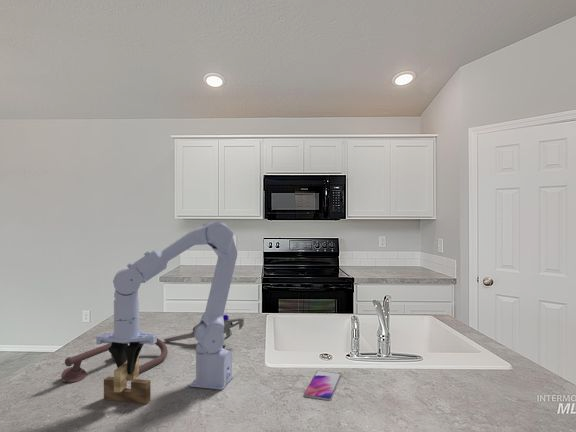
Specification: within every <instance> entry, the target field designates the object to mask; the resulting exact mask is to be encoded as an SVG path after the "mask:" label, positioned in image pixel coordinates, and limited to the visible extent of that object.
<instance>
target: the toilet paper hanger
mask: <svg viewBox="0 0 576 432" xmlns="http://www.w3.org/2000/svg"><path fill="white" fill-rule="evenodd" d="M154 345H156V346H157V347H158V348H159V349H160V352H161V353H160V354H159V356H157V357H155V358H154V359H152V360H149V361H148V362H145V363H143V364H141V365H139V375H140V374H142V373H143V372H145V371H147V370H150V369H152V368H153V367H154V368H155V366H158V365H159V364H161V363H163V362H164V361H165V359H166V358H167V356H168V354H169V353H168V347H167V345H166V343H165V342H164V341H162V340H161V339H160V338H159V337H157V342H156V343H155V344H154ZM109 347H111V343H105V344H104V345H100V346H98V347H95V348H92V349H90V350H87V351H85V352H82V353H79V354H77V355H74V356H71V357H69V356H68V357H67V358H65V359H64V364H65V366H66V367H67V368H66V369H64V370H63V371H62V372H61V379H62V381H63V382H66V383H69V384H73V383H77V382H81V381H82V380H85V378H86V377H87V371H86V370H85V369H84V368H82V367H81V366H82V365H81V364H82V362H83V361H84V360H88V359H90V358H92V357H95V356H97V355H100V354H102V353H105V352H109ZM110 355H111V354H110ZM110 357H111V358H112V359H113V360H114V358H113V356H112V355H111V356H110ZM126 361H127V357H126Z"/></svg>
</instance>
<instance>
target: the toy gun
mask: <svg viewBox="0 0 576 432" xmlns="http://www.w3.org/2000/svg"><path fill="white" fill-rule="evenodd" d="M223 319H224V331H223V332H224V334H225V335H226V336H224V338H225V340H227V339H228V338H231V336H232V335H233V332H232V330H231V328H234V327H236V326H238V330H241V329H242V328H243V327H244V325H245V317H236V318H231V319H230V318H229V315H228V314H223ZM198 324H199V323H197V324H196V325H194V326H193V328H192V331H190V332H186V333H181V334H177V335H172V336H168V337H165V338H163V342H164V341H165V342H167V343H169V342H177V341H181V340H186V339H192V338H195V336H194V331H195V328H196V326H197V325H198Z"/></svg>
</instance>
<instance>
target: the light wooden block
mask: <svg viewBox="0 0 576 432" xmlns="http://www.w3.org/2000/svg"><path fill="white" fill-rule="evenodd" d="M139 366H140V356H139V355H138V358H137V361H136V365H135V370H134V372H133V373H132V374H128V372H127V360H126V362H125V363H124V364H122V365H121V366H120V367H118V368H115V370H113V377H114V392H121V391H122V390H124V389H125V388H127V382H128V381H130V382H131V381H133V380H134V379H138V378H139V376H140V374H139Z"/></svg>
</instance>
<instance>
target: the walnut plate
mask: <svg viewBox="0 0 576 432" xmlns="http://www.w3.org/2000/svg"><path fill="white" fill-rule="evenodd" d="M151 398H152V397H151V380H149V379H140V378H136V379H134V380H133V381H130V387H128V388H127V387H126V388H125V389H124V390H122V391H121V392H114V376H107V377H106V378H103V400H106V401H113V402H125V403H133V404H140V405H141V404H144V405H147V404H149V403H150V402H151Z"/></svg>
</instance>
